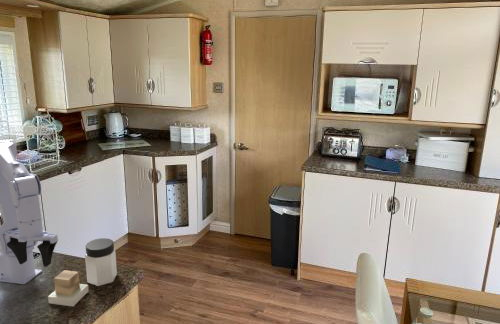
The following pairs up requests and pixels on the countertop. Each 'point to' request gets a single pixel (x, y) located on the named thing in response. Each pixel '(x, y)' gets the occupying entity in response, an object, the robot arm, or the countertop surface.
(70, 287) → the oak block
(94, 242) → the jar
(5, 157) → the robot arm
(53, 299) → the tile base
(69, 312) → the countertop surface
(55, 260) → the countertop surface
